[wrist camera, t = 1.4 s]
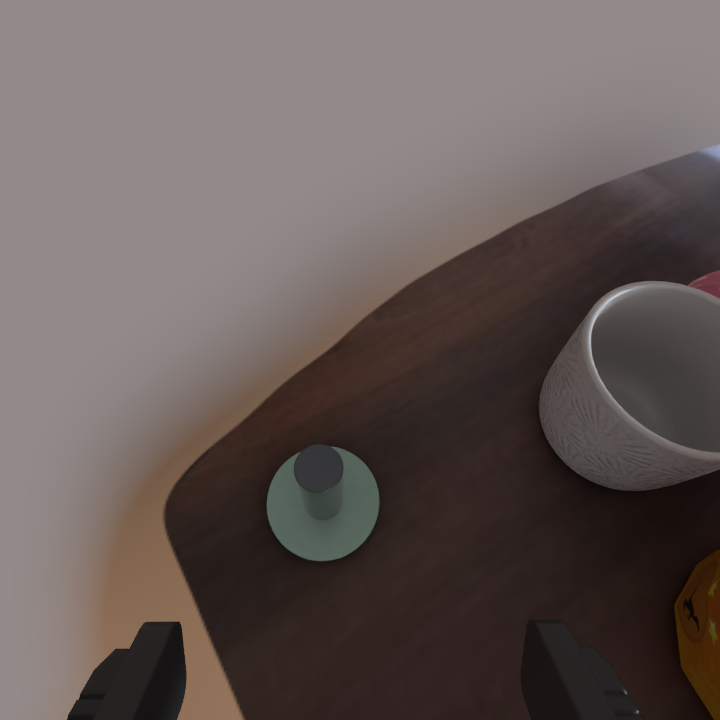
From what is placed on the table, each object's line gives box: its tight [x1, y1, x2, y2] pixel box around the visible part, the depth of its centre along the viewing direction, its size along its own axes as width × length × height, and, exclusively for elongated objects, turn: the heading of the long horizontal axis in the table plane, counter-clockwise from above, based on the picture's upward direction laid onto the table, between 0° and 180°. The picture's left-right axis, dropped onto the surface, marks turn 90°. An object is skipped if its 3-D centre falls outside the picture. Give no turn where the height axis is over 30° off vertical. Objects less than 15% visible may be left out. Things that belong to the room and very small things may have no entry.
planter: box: [539, 281, 720, 491], centre depth 34 cm, size 12×12×11 cm
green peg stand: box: [267, 444, 380, 562], centre depth 31 cm, size 8×8×9 cm
